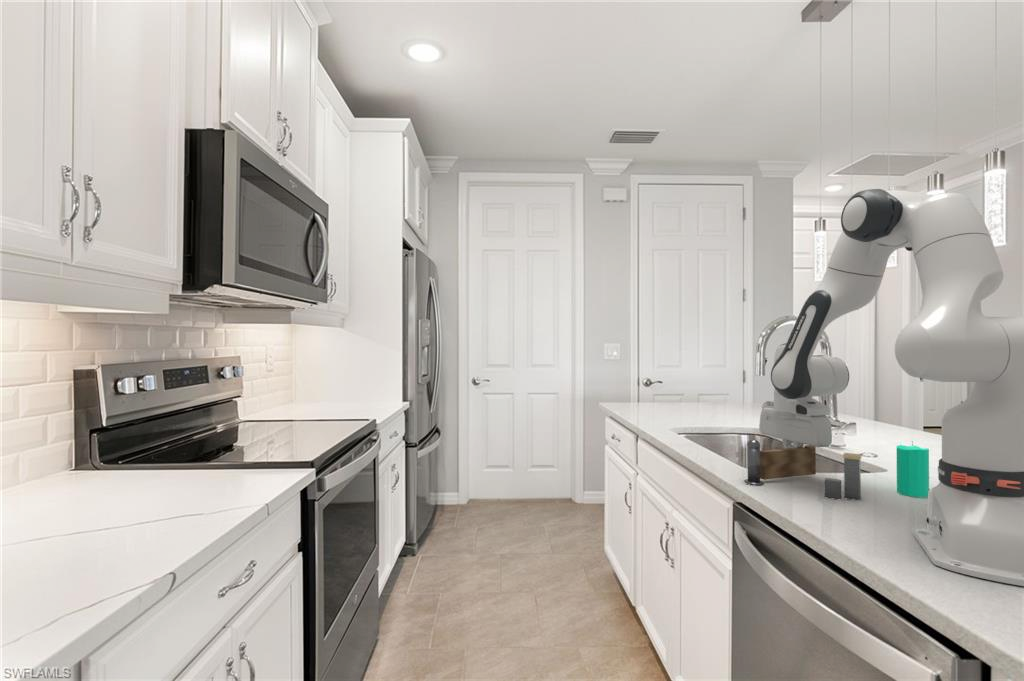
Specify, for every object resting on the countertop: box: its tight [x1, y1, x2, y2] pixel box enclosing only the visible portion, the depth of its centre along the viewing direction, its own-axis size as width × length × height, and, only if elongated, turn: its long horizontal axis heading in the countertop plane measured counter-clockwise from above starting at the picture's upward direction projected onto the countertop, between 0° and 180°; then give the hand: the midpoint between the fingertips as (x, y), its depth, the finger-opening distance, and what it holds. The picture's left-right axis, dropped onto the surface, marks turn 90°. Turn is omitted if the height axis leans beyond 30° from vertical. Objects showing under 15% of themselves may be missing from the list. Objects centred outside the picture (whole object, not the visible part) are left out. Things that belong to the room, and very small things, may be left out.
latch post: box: [823, 452, 862, 501], centre depth 118 cm, size 5×7×10 cm
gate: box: [760, 444, 817, 481], centre depth 133 cm, size 16×2×7 cm, turn 107°
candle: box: [896, 440, 930, 498], centre depth 121 cm, size 6×6×12 cm
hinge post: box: [743, 438, 765, 487], centre depth 130 cm, size 4×4×11 cm
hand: (792, 457), depth 137 cm, fingers closed
